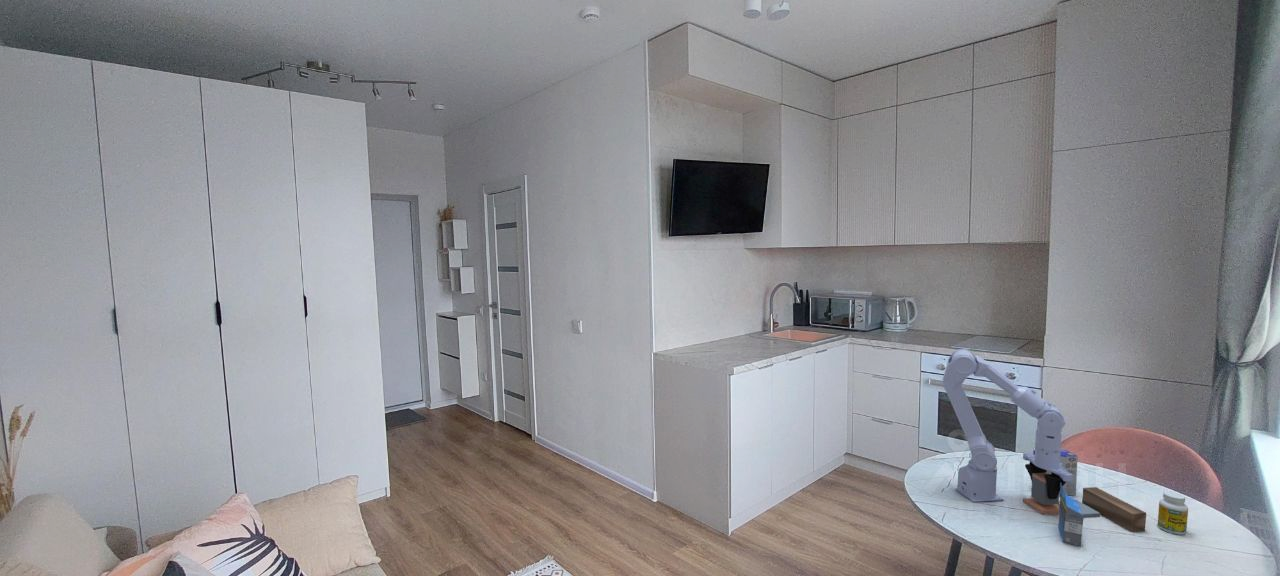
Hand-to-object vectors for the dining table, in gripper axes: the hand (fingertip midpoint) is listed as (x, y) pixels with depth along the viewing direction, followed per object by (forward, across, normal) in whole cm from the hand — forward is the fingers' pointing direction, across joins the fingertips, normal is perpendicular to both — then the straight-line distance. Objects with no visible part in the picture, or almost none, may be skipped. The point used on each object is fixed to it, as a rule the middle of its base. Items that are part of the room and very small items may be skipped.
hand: (1044, 494), depth 148 cm
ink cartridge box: (+4, +8, -10) cm, 14 cm away
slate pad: (+4, -2, -8) cm, 9 cm away
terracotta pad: (+4, 0, 0) cm, 4 cm away
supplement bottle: (+4, -14, -24) cm, 27 cm away
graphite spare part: (+2, 0, 0) cm, 2 cm away
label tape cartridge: (+4, -14, +5) cm, 15 cm away
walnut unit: (+4, -6, -14) cm, 16 cm away
